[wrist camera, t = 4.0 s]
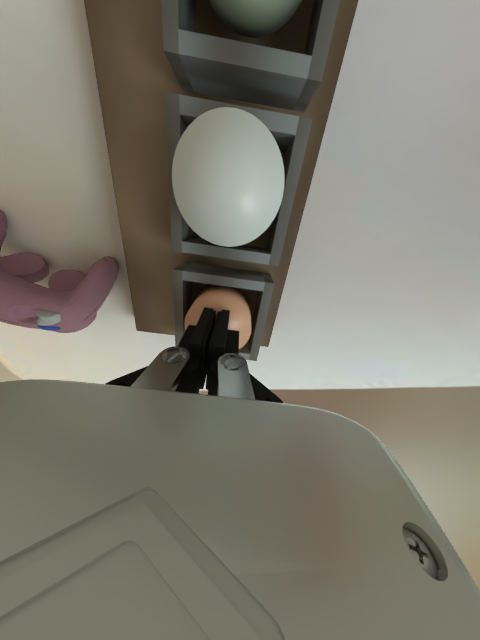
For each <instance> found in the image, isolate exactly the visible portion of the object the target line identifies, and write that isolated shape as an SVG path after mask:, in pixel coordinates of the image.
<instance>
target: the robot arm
mask: <svg viewBox="0 0 480 640" xmlns="http://www.w3.org/2000/svg"><path fill="white" fill-rule="evenodd" d="M229 315H230V310H222V311H218V314H217V318H216V321H215V317H216V311H213V308H207V307H204V309H203V311H202V313H201V316H200V318H199V320H198V322H197V325H196V326H195V325H188V327H187V329H186V331H185V333H184V335H183V337H182V338H181V340H180V342H179V344H178V346H177V347H170V348H167V349H165V350H163V351H162V352H161V353H160V354H159V355H158V356H157V357H156V358H155V359H154V360H153V362H152V363H151V364H150V365H149V366H147V367H145V368H142V369H140V370H137V371H135V372H132V373H130V374H127V375H125V376H122V377H120V378H117V379H114V380H112V381H110V382H108V383H106V384H97V383H86V382H75V381H60V380H16V381H6V382H0V640H480V590H479V588H478V586H477V585H476V583H475V581H474V580H473V578H472V577H471V575H470V573H469V572H468V570H467V569H466V567H465V565H464V564H463V562H462V560H461V559H460V557H459V556H458V554H457V552H456V551H455V549H454V547H453V546H452V544H451V543H450V541H449V539H448V538H447V536H446V535H445V533H444V531H443V530H442V528H441V526H440V525H439V523H438V522H437V520H436V519H435V517H434V516H433V514H432V513H431V511H430V510H429V508H428V506H427V505H426V503H425V502H424V500H423V499H422V497H421V496H420V494H419V493H418V491H417V490H416V488H415V486H414V485H413V483H412V482H411V480H410V479H409V477H408V476H407V475H406V473H405V472H404V470H403V469H402V467H401V466H400V465H399V463H398V462H397V461H396V459H395V458H394V457H393V455H392V454H391V452H390V451H389V450H388V449H387V447H386V446H385V445H384V444H383V443H382V442H381V441H380V439H379V438H378V437H377V436H376V435H374V434H373V433H372V432H371V431H370V430H368V429H367V428H365V427H364V426H362V425H360V424H359V423H357V422H355V421H353V420H350V419H348V418H346V417H344V416H342V415H339V414H336V413H333V412H330V411H326V410H322V409H318V408H312V407H306V406H300V405H293V404H285V403H283V402H282V401H281V400H280V399H279V398H278V397H277V396H276V395H275V394H274V393H272V392H271V391H270V390H269V389H268V388H266V387H265V386H264V385H263V384H262V383H260V382H259V381H258V380H257V379H256V378H254V377H253V376H252V375H251V374H250V373H249V371H248V366H247V362H246V360H245V359H244V358H243V357H242V356H240V355H239V331H236V330H228V323H229ZM206 375H207V379H206ZM205 379H206V389H207V390H208V395H204V394H198V393H199V389H203V387H204V383H205Z"/></svg>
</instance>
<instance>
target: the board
mask: <svg viewBox="0 0 480 640" xmlns="http://www.w3.org/2000/svg"><path fill="white" fill-rule="evenodd" d="M84 2H85V8H86V15H87V21H88V27H89V33H90V40H91V46H92V52H93V59H94V65H95V71H96V77H97V84H98V90H99V96H100V103H101V109H102V115H103V121H104V128H105V134H106V140H107V147H108V153H109V159H110V165H111V172H112V178H113V184H114V191H115V197H116V203H117V209H118V216H119V222H120V228H121V235H122V241H123V247H124V253H125V260H126V266H127V272H128V279H129V285H130V291H131V297H132V304H133V310H134V316H135V323H136V329H137V331H144V332H152V333H160V334H169V335H175V344H176V347H177V346H178V344H179V342H180V340H181V338H182V337H183V335H184V333H185V331H186V330H185V318H186V315H187V313H188V311H189V309H190V308H191V306H192V304H193V303H194V301H195V299H196V298H197V296H198V294H199V293H200V292H201V290H202V289H204V288H205V287H206V286H208V285H210V284H213V285H220V286H228V287H235V288H240V289H241V290H242V291H243V292H244V293H245V295H246V296H247V298H248V300H249V303H250V313H251V335H250V337H249V340H248V341H247V343H246V344H245V345H244V346H243V347H242V348H240V349H239V355H240V356H242V357H243V358H244V359H246V360H254V361H257V356H258V352H259V348H260V346H266V347H268V345H269V341H270V338H271V334H272V330H273V326H274V322H275V318H276V315H277V311H278V307H279V303H280V299H281V295H282V291H283V288H284V284H285V280H286V276H287V272H288V268H289V265H290V261H291V257H292V253H293V249H294V245H295V241H296V238H297V234H298V230H299V226H300V222H301V218H302V215H303V211H304V207H305V203H306V199H307V195H308V192H309V188H310V184H311V180H312V176H313V172H314V168H315V165H316V161H317V157H318V153H319V149H320V145H321V142H322V138H323V134H324V130H325V126H326V122H327V119H328V115H329V111H330V107H331V103H332V99H333V95H334V92H335V88H336V84H337V80H338V76H339V72H340V69H341V65H342V61H343V57H344V53H345V49H346V45H347V42H348V38H349V34H350V30H351V26H352V22H353V19H354V15H355V11H356V7H357V3H358V0H302V2H301V4H300V5H299V7H298V9H297V10H296V12H295V13H294V14H293V16H292V17H291V18H290V19H289V20H288V21H287V22H286V23H285V24H284V25H283V26H282V27H281V28H280V29H278V30H277V31H275V32H274V33H272V34H270V35H267V36H264V37H259V38H249V37H245V36H242V35H239V34H238V33H236V32H234V31H233V30H231V29H230V28H229V27H228V26H227V25H226V24H225V23H224V22H223V21H222V20H221V19H220V18H219V16H218V15H217V13H216V12H215V10H214V9H213V7H212V5H211V3H210V1H209V0H84ZM221 107H232V108H238V109H241V110H244V111H246V112H248V113H250V114H252V115H254V116H255V117H256V118H258V119H259V120H260V121H261V122H262V123H263V124H264V125H265V126H266V127H267V128H268V130H269V131H270V132H271V134H272V135H273V137H274V139H275V140H276V143H277V145H278V147H279V150H280V153H281V156H282V160H283V165H284V175H285V182H284V192H283V198H282V201H281V205H280V208H279V210H278V213H277V215H276V216H275V218H274V220H273V222H272V223H271V225H270V226H269V227H268V228H267V229H266V231H265V232H264V233H262V234H261V235H260V236H259V237H257V238H256V239H255V240H253V241H251V242H249V243H247V244H244V245H240V246H234V247H226V246H220V245H216V244H213V243H210V242H208V241H207V240H205V239H203V238H202V237H200V236H199V235H198V234H197V233H195V232H194V231H193V230H192V228H191V227H190V226H189V225H188V224H187V222H186V221H185V219H184V218H183V216H182V214H181V212H180V210H179V208H178V206H177V203H176V200H175V196H174V191H173V185H172V165H173V158H174V154H175V150H176V148H177V145H178V142H179V140H180V138H181V136H182V134H183V133H184V131H185V130H186V129H187V127H188V126H189V125H190V124H191V123H192V122H193V121H194V120H195V119H196V118H197V117H199V116H200V115H201V114H203V113H205V112H207V111H209V110H212V109H216V108H221Z"/></svg>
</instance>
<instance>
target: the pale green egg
mask: <svg viewBox="0 0 480 640" xmlns="http://www.w3.org/2000/svg"><path fill="white" fill-rule="evenodd" d="M209 1H210V3H211V5H212V7H213V9H214V10H215V12H216V13H217V15H218V16H219V18H220V19H221V20H222V21H223V22H224V23H225V24H226V25H227V26H228V27H229V28H230V29H231V30H233V31H234V32H236V33H238V34H239V35H242V36H245V37H249V38H259V37H264V36H267V35H270V34H272V33H274V32H275V31H277V30H278V29H280V28H281V27H282V26H283V25H284V24H285V23H286V22H287V21H288V20H289V19H290V18H291V17H292V16H293V14H294V13H295V12H296V10H297V9H298V7H299V5H300V4H301V2H302V0H209Z"/></svg>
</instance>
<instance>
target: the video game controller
mask: <svg viewBox="0 0 480 640" xmlns="http://www.w3.org/2000/svg"><path fill="white" fill-rule="evenodd" d="M6 229H7V221H6V217H5V214H4V213H3V212H2V211H1V210H0V251H1V247H2V244H3V241H4V238H5V236H6ZM49 272H50V270H49V268H48V266H47V264H46V263H45V262H44V260H43V259H42V258H41V257H39V256H38V255H35V254H32V253H18V254H14V255H10V256H5V257H0V321H1V322H4V323H8V324H12V325H17V326H22V327H28V328H37V329H44V330H52V331H55V332H60V333H70V332H76V331H79V330H82V329H84V328H86V327H87V326H89V325H90V324H91V323H92V322H93V321H94V319H95V317H96V313H97V311H98V310H99V308H100V307H101V305H102V304H103V302H104V301H105V299H106V298H107V296H108V294H109V293H110V291H111V289H112V287H113V285H114V282H115V280H116V277H117V273H118V263H117V261H116V260H115V259H114V258H113V257H110V256H108V257H104V258H102V259H100V260H99V261H97V262H96V263H95V264H94V265H93V266H92V268H91V269H90V271H89V272H88V273H87V275H86V276H85V277H84V275H83V274H82V273H80V272H78V271H74V270H61V271H58V272H56V273H54V274H53V275H52V276H51V277H50V279H49V287H50V288H46V287H43V286H40V285H37V284H34V283H35V282H38V281H41V280H43V279H44V278H46V277H47V275H48V274H49Z"/></svg>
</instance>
